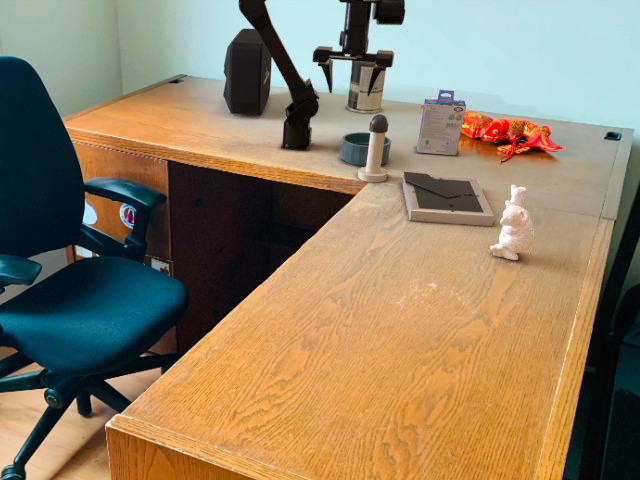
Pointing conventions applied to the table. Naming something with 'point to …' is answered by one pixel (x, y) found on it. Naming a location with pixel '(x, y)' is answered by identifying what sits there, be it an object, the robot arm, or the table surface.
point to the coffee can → (365, 88)
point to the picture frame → (445, 200)
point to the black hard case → (247, 73)
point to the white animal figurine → (515, 227)
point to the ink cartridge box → (441, 125)
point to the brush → (375, 151)
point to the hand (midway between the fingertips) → (349, 94)
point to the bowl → (360, 148)
